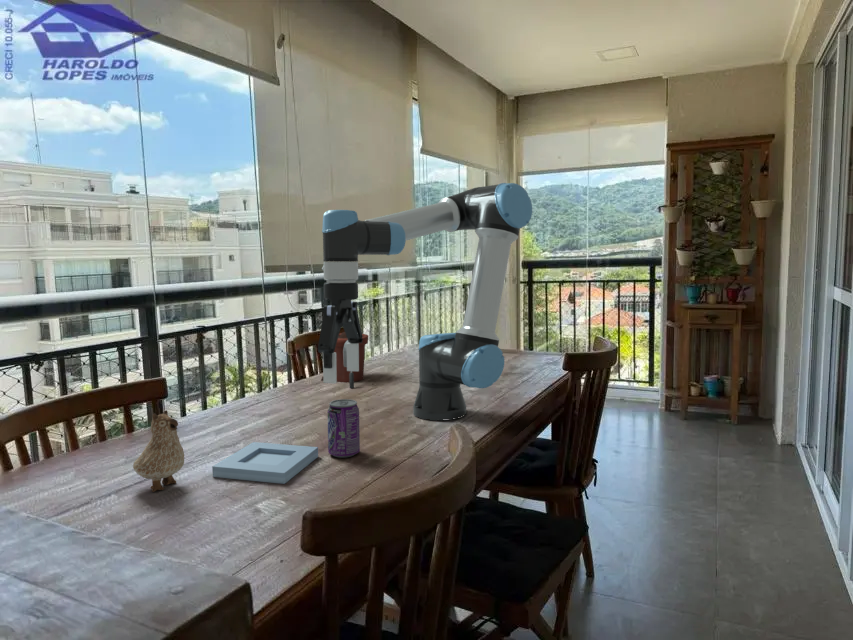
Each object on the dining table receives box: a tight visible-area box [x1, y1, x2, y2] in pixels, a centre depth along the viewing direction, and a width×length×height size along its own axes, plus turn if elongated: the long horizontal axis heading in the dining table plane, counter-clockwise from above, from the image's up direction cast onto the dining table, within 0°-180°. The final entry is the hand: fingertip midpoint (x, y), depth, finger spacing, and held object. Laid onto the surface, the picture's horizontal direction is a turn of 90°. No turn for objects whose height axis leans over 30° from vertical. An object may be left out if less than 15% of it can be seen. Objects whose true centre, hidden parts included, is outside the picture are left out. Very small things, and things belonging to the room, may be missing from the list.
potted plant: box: [320, 331, 369, 389], centre depth 208 cm, size 18×22×25 cm
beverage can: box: [327, 398, 361, 459], centre depth 131 cm, size 7×7×12 cm
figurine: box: [132, 410, 185, 493], centre depth 112 cm, size 9×10×15 cm
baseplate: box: [211, 441, 319, 485], centre depth 123 cm, size 16×16×2 cm
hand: (342, 376), depth 129 cm, fingers open, 13 cm apart
